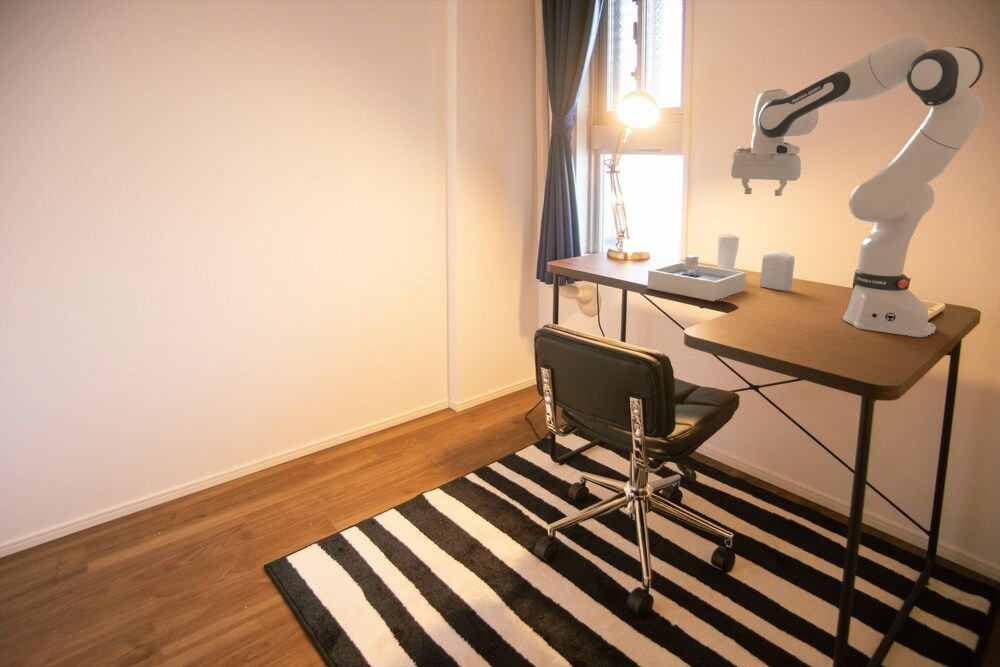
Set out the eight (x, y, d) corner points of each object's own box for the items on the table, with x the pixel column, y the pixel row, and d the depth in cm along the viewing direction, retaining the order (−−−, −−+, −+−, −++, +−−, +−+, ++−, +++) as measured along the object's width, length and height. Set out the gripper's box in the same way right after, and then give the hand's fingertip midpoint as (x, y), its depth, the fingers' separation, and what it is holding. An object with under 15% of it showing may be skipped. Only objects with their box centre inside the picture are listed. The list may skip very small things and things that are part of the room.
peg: (697, 285, 238) (700, 256, 235) (692, 287, 235) (694, 258, 233) (687, 284, 241) (689, 254, 238) (681, 286, 238) (683, 256, 235)
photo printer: (757, 286, 238) (761, 250, 234) (764, 284, 241) (768, 248, 237) (786, 292, 230) (791, 254, 227) (793, 290, 233) (798, 253, 229)
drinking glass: (710, 277, 251) (714, 234, 247) (725, 275, 254) (729, 233, 249) (723, 281, 245) (728, 237, 241) (738, 279, 248) (743, 236, 243)
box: (744, 290, 233) (746, 272, 231) (714, 301, 219) (716, 282, 217) (678, 278, 248) (680, 261, 247) (647, 288, 235) (648, 270, 233)
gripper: (729, 147, 217) (725, 193, 220) (796, 148, 203) (791, 197, 207) (738, 147, 221) (735, 192, 225) (805, 147, 207) (800, 196, 211)
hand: (762, 194), depth 216 cm, fingers open, 8 cm apart
